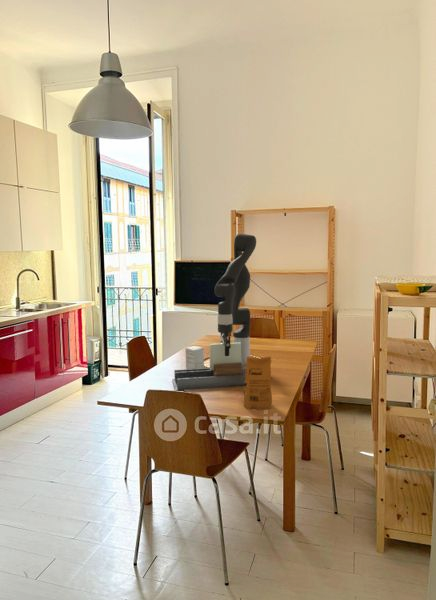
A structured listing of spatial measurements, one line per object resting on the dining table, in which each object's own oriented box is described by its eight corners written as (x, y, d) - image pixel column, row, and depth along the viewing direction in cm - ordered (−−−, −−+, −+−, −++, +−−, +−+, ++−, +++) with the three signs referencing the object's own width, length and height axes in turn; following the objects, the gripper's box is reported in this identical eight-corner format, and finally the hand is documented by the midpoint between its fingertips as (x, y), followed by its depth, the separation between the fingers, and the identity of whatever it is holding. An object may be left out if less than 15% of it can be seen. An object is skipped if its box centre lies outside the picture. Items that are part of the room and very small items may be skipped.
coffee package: (243, 401, 215) (243, 353, 212) (271, 401, 215) (271, 353, 212) (243, 409, 206) (242, 359, 203) (272, 409, 205) (272, 359, 202)
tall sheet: (209, 378, 245) (209, 343, 243) (240, 376, 248) (240, 342, 245) (210, 379, 244) (210, 344, 241) (241, 377, 246) (241, 343, 244)
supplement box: (195, 367, 271) (195, 345, 270) (204, 369, 266) (204, 347, 264) (185, 369, 266) (185, 347, 265) (194, 372, 261) (194, 349, 259)
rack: (172, 381, 245) (172, 369, 244) (244, 377, 252) (244, 365, 251) (175, 393, 227) (175, 380, 226) (253, 388, 233) (253, 375, 232)
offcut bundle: (213, 381, 240) (213, 363, 239) (240, 379, 243) (240, 362, 241) (215, 384, 234) (215, 367, 233) (243, 383, 237) (243, 365, 236)
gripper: (215, 320, 248) (215, 350, 250) (220, 325, 234) (220, 357, 236) (229, 319, 249) (229, 350, 252) (235, 324, 236) (235, 356, 238)
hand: (225, 353), depth 244 cm, fingers open, 8 cm apart
